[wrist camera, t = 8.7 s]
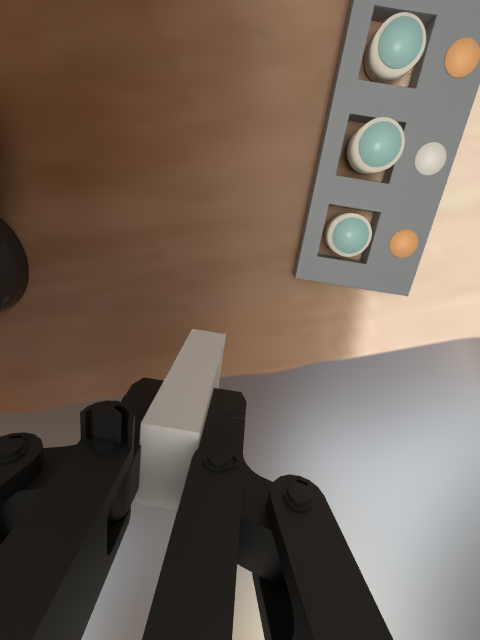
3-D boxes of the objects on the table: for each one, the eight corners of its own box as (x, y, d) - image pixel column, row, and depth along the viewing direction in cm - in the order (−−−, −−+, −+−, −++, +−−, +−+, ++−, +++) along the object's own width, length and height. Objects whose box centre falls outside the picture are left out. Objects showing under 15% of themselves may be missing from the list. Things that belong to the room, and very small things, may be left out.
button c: (358, 81, 35) (368, 68, 32) (371, 26, 33) (383, 6, 30) (402, 88, 35) (417, 76, 32) (417, 33, 33) (435, 14, 30)
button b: (341, 170, 36) (349, 167, 33) (353, 121, 34) (363, 112, 31) (384, 177, 36) (397, 174, 33) (398, 128, 34) (412, 120, 31)
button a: (319, 249, 41) (324, 253, 38) (329, 209, 40) (335, 210, 36) (357, 255, 41) (366, 260, 38) (368, 216, 39) (378, 217, 36)
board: (293, 273, 43) (295, 278, 40) (354, -22, 32) (362, -41, 30) (399, 291, 42) (408, 296, 40) (494, 0, 32) (514, -17, 30)
